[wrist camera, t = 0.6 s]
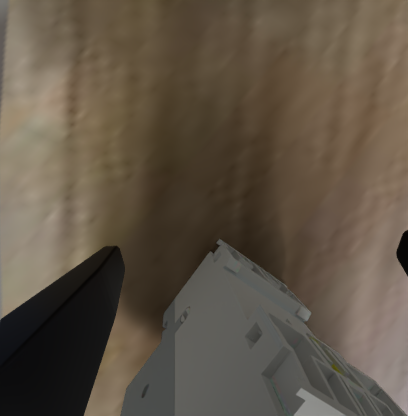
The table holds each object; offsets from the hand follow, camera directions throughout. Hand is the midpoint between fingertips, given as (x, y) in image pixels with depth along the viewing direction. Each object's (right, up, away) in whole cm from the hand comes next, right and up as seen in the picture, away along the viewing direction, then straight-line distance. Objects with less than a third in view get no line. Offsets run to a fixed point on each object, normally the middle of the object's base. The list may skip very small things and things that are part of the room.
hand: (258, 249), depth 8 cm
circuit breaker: (-2, -9, +15) cm, 18 cm away
